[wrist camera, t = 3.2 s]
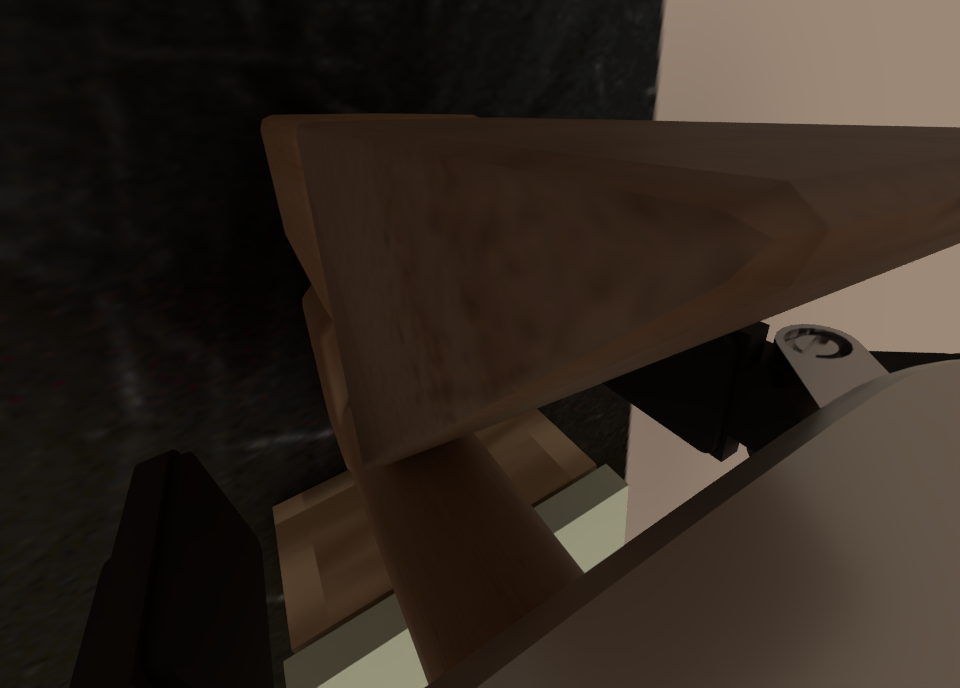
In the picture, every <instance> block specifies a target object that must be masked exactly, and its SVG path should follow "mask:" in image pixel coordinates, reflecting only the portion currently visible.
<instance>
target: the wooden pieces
mask: <svg viewBox="0 0 960 688" xmlns="http://www.w3.org/2000/svg"><path fill="white" fill-rule="evenodd" d="M260 130H261V134H262V139H263V143H264V147H265V151H266V155H267V160H268V164H269V168H270V172H271V176H272V181H273V185H274V189H275V193H276V197H277V202H278V206H279V210H280V214H281V218H282V223H283V227H284V231H285V235H286V237H287V238H288V240H289V242H290V244H291V246H292V248H293V250H294V252H295V253H296V255H297V257H298V259H299V261H300V263H301V265H302V267H303V268H304V270H305V272H306V274H307V276H308V278H309V280H310V282H311V284H312V285H311V286H310V287H309V289H308V290H307V291H306V293H305V294H304V297H303V299H302V306H303V310H304V315H305V319H306V323H307V327H308V331H309V336H310V340H311V344H312V348H313V352H314V357H315V361H316V365H317V369H318V373H319V378H320V382H321V386H322V390H323V394H324V399H325V403H326V407H327V411H328V415H329V419H330V422H331V425H332V427H333V430H334V433H335V436H336V439H337V442H338V444H339V447H340V450H341V453H342V456H343V458H344V461H345V464H346V467H347V468H348V469H349V470H350V471H351V473H352V476H353V479H354V482H355V484H356V487H357V490H358V493H359V495H360V498H361V501H362V504H363V506H364V509H365V512H366V515H367V517H368V520H369V523H370V526H371V528H372V531H373V534H374V537H375V539H376V542H377V545H378V548H379V550H380V553H381V556H382V559H383V561H384V564H385V567H386V570H387V572H388V575H389V578H390V581H391V583H392V586H393V589H394V592H395V594H396V597H397V600H398V603H399V605H400V608H401V611H402V614H403V616H404V619H405V622H406V625H407V627H408V630H409V633H410V636H411V638H412V641H413V644H414V647H415V649H416V652H417V655H418V658H419V660H420V663H421V666H422V669H423V671H424V674H425V677H426V679H427V682H428V685H429V684H430V683H431V682H433V681H434V680H436V679H437V678H438V677H440V676H441V675H443V674H444V673H445V672H447V671H448V670H450V669H451V668H452V667H454V666H455V665H457V664H458V663H459V662H461V661H462V660H464V659H465V658H466V657H468V656H469V655H471V654H472V653H473V652H475V651H476V650H478V649H479V648H480V647H482V646H483V645H485V644H486V643H487V642H489V641H490V640H492V639H493V638H494V637H496V636H497V635H499V634H500V633H501V632H503V631H504V630H506V629H507V628H508V627H510V626H511V625H513V624H514V623H515V622H517V621H518V620H520V619H521V618H522V617H524V616H525V615H527V614H528V613H529V612H531V611H532V610H534V609H535V608H536V607H538V606H539V605H541V604H542V603H543V602H545V601H546V600H548V599H549V598H550V597H552V596H553V595H555V594H556V593H557V592H559V591H560V590H562V589H563V588H564V587H566V586H567V585H569V584H570V583H571V582H573V581H574V580H576V579H577V578H578V577H580V576H581V575H583V574H584V572H583V570H582V569H581V568H580V566H579V565H578V564H577V563H576V561H575V560H574V559H573V558H572V556H571V555H570V554H569V553H568V551H567V550H566V549H565V547H564V546H563V545H562V544H561V542H560V541H559V540H558V539H557V537H556V536H555V535H554V534H553V532H552V531H551V530H550V528H549V527H548V526H547V525H546V523H545V522H544V521H543V520H542V518H541V517H540V516H539V515H538V513H537V512H536V511H535V509H534V508H533V507H532V506H531V504H530V503H529V502H528V501H527V499H526V498H525V497H524V496H523V494H522V493H521V492H520V491H519V489H518V488H517V487H516V485H515V484H514V483H513V482H512V480H511V479H510V478H509V477H508V475H507V474H506V473H505V472H504V470H503V469H502V468H501V466H500V465H499V464H498V463H497V461H496V460H495V459H494V458H493V456H492V455H491V454H490V453H489V451H488V450H487V449H486V447H485V446H484V445H483V444H482V442H481V441H480V440H479V439H478V437H477V436H476V435H475V434H474V432H477V431H479V430H482V429H485V428H487V427H490V426H493V425H495V424H498V423H501V422H503V421H506V420H508V419H511V418H513V417H516V416H519V415H521V414H524V413H526V412H529V411H531V410H534V409H536V408H539V407H542V406H544V405H547V404H549V403H552V402H554V401H557V400H559V399H562V398H565V397H567V396H570V395H572V394H575V393H577V392H580V391H583V390H585V389H588V388H590V387H593V386H595V385H598V384H600V383H603V382H606V381H608V380H611V379H613V378H616V377H618V376H621V375H623V374H626V373H629V372H631V371H634V370H636V369H639V368H641V367H644V366H647V365H649V364H652V363H654V362H657V361H659V360H662V359H664V358H667V357H670V356H672V355H675V354H677V353H680V352H682V351H685V350H687V349H690V348H693V347H695V346H698V345H700V344H703V343H705V342H708V341H710V340H713V339H716V338H718V337H721V336H723V335H726V334H728V333H731V332H734V331H736V330H739V329H741V328H744V327H746V326H749V325H751V324H754V323H757V322H759V321H762V320H764V319H767V318H769V317H772V316H774V315H777V314H780V313H782V312H785V311H787V310H790V309H792V308H795V307H798V306H800V305H803V304H805V303H808V302H810V301H813V300H815V299H818V298H820V297H823V296H826V295H828V294H831V293H833V292H836V291H838V290H841V289H843V288H846V287H849V286H851V285H854V284H856V283H859V282H861V281H864V280H866V279H869V278H872V277H874V276H877V275H879V274H882V273H885V272H887V271H890V270H892V269H895V268H897V267H900V266H902V265H905V264H907V263H910V262H913V261H915V260H918V259H920V258H923V257H926V256H928V255H931V254H933V253H936V252H938V251H941V250H943V249H946V248H949V247H951V246H954V245H956V244H959V243H960V128H956V127H953V128H952V127H911V126H864V125H819V124H775V123H774V124H773V123H729V122H728V123H727V122H685V121H683V122H682V121H680V122H679V121H640V120H595V119H550V118H504V117H492V118H479V117H477V116H475V115H459V114H387V113H362V114H295V115H270V116H268V117H266V118H264V119H262V123H261V129H260Z"/></svg>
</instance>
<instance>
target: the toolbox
mask: <svg viewBox="0 0 960 688" xmlns="http://www.w3.org/2000/svg"><path fill="white" fill-rule="evenodd" d="M474 434H475V435H476V436H477V437H478V439H479V440H480V441H481V442H482V444H483V445H484V446H485V447H486V449H487V450H488V451H489V453H490V454H491V455H492V456H493V458H494V459H495V460H496V461H497V463H498V464H499V465H500V466H501V468H502V469H503V470H504V472H505V473H506V474H507V475H508V477H509V478H510V479H511V480H512V482H513V483H514V484H515V485H516V487H517V488H518V489H519V491H520V492H521V493H522V494H523V496H524V497H525V498H526V499H527V501H528V502H529V503H530V504H531V506H532V507H533V508H535V507H536V506H538V505H540V504H541V503H543V502H544V501H546V500H548V499H549V498H551V497H553V496H554V495H556V494H557V493H559V492H561V491H562V490H564V489H566V488H567V487H569V486H571V485H572V484H574V483H575V482H577V481H579V480H580V479H582V478H584V477H585V476H587V475H588V474H590V473H592V472H593V471H595V470H596V468H597V465H596V464H595V463H594V462H593V461H592V460H591V459H590V458H589V457H588V456H587V455H586V454H585V453H584V452H582V451H581V450H580V449H579V448H578V447H577V446H576V445H575V444H574V443H573V442H572V441H571V440H570V439H569V438H568V437H566V436H565V435H564V434H563V433H562V432H561V431H560V430H559V429H558V428H557V427H556V426H555V425H554V424H553V423H552V422H550V421H549V420H548V419H547V418H546V417H545V416H544V415H543V414H542V413H541V412H540V411H539V410H538V409H537V408H536V409H534V410H531V411H529V412H526V413H524V414H521V415H519V416H516V417H513V418H511V419H508V420H506V421H503V422H501V423H498V424H495V425H493V426H490V427H487V428H485V429H482V430H479V431H477V432H474ZM273 515H274V522H275V530H276V537H277V544H278V552H279V559H280V567H281V574H282V582H283V589H284V597H285V604H286V612H287V619H288V627H289V634H290V642H291V649H292V651H293V652H294V653H295V654H296V653H298V652H300V651H301V650H303V649H305V648H306V647H308V646H310V645H311V644H313V643H314V642H316V641H318V640H319V639H321V638H323V637H324V636H326V635H327V634H329V633H331V632H332V631H334V630H336V629H337V628H339V627H341V626H342V625H344V624H345V623H347V622H349V621H350V620H352V619H354V618H355V617H357V616H358V615H360V614H362V613H363V612H365V611H367V610H368V609H370V608H372V607H373V606H375V605H376V604H378V603H380V602H381V601H383V600H385V599H386V598H388V597H389V596H391V595H393V594H394V593H395V592H394V589H393V586H392V583H391V581H390V578H389V575H388V572H387V570H386V567H385V564H384V561H383V559H382V556H381V553H380V550H379V548H378V545H377V542H376V539H375V537H374V534H373V531H372V528H371V526H370V523H369V520H368V517H367V515H366V512H365V509H364V506H363V504H362V501H361V498H360V495H359V493H358V490H357V487H356V484H355V482H354V479H353V476H352V473H351V471H350V470H347V471H345V472H343V473H341V474H339V475H337V476H335V477H333V478H331V479H329V480H327V481H325V482H322V483H320V484H318V485H316V486H314V487H312V488H310V489H308V490H306V491H304V492H302V493H300V494H298V495H296V496H294V497H292V498H290V499H288V500H286V501H284V502H282V503H280V504H278V505H275V506H273Z"/></svg>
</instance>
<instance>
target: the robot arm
mask: <svg viewBox="0 0 960 688" xmlns="http://www.w3.org/2000/svg"><path fill="white" fill-rule="evenodd" d="M769 326H770V325H768V324H766V323H763V322H760V321H759V322H757V323H754V324H751V325H749V326H746V327H744V328H741V329H739V330H736V331H734V332H731V333H728V334H726V335H723V336H721V337H718V338H716V339H713V340H710V341H708V342H705V343H703V344H700V345H698V346H695V347H693V348H690V349H687V350H685V351H682V352H680V353H677V354H675V355H672V356H670V357H667V358H664V359H662V360H659V361H657V362H654V363H652V364H649V365H647V366H644V367H641V368H639V369H636V370H634V371H631V372H629V373H626V374H623V375H621V376H618V377H616V378H613V379H611V380H608V381H606V382H603V384H604V385H606V386H607V387H608V388H610V389H611V390H613V391H614V392H616V393H617V394H619V395H620V396H621V397H623V398H624V399H626V400H627V401H629V402H630V403H631V404H633V405H634V406H636V407H637V408H639V409H640V410H641V411H643V412H644V413H646V414H647V415H649V416H650V417H651V418H653V419H654V420H656V421H657V422H659V423H660V424H662V425H663V426H664V427H666V428H667V429H669V430H670V431H672V432H673V433H674V434H676V435H677V436H679V437H680V438H682V439H683V440H684V441H686V442H687V443H689V444H690V445H692V446H693V447H694V448H696V449H697V450H699V451H701V452H703V453H709V454H710V455H712V456H713V457H715V458H716V459H718V460H719V461H721V462H722V461H724V460H725V459H727V458H728V457H729V456H731V455H732V454H734V453H735V452H737V449H738V446H739V443H741V444H742V445H744V446H746V447H747V451H748V454H749V456H750V457H749V458H747V459H746V460H745V461H743V462H742V463H740V464H739V465H737V466H736V467H735V468H734V469H732V470H730V471H729V472H728V473H726V474H725V475H723V476H722V477H720V478H719V479H717V480H716V481H715V482H713V483H712V484H710V485H709V486H707V487H706V488H704V489H703V490H702V491H700V492H699V493H698V494H696V495H695V496H693V497H692V498H690V499H689V500H688V501H686V502H685V503H683V504H682V505H680V506H679V507H678V508H676V509H675V510H673V511H672V512H670V513H669V514H668V515H666V516H665V517H663V518H662V519H660V520H659V521H658V522H657V523H655V524H654V525H652V526H651V527H649V528H648V529H646V530H645V531H643V532H642V533H641V534H639V535H638V536H637V537H635V538H634V539H632V540H631V541H629V542H628V543H627V544H625V545H624V546H622V547H621V548H619V549H618V550H617V551H615V552H614V553H612V554H611V555H610V556H608V557H607V558H605V559H604V560H603V561H601V562H600V563H598V564H597V565H595V566H594V567H593V568H591V569H590V570H588V571H587V572H586V573H584V574H583V575H581V576H580V577H578V578H577V579H576V580H574V581H573V582H571V583H570V584H569V585H567V586H566V587H564V588H563V589H562V590H560V591H559V592H557V593H556V594H555V595H553V596H552V597H550V598H549V599H548V600H546V601H545V602H543V603H542V604H541V605H539V606H538V607H536V608H535V609H534V610H532V611H531V612H529V613H528V614H527V615H525V616H524V617H522V618H521V619H520V620H518V621H517V622H515V623H514V624H513V625H511V626H510V627H508V628H507V629H506V630H504V631H503V632H501V633H500V634H499V635H497V636H496V637H494V638H493V639H492V640H490V641H489V642H487V643H486V644H485V645H483V646H482V647H480V648H479V649H478V650H476V651H475V652H473V653H472V654H471V655H469V656H468V657H466V658H465V659H464V660H462V661H461V662H459V663H458V664H457V665H455V666H454V667H452V668H451V669H450V670H448V671H447V672H445V673H444V674H443V675H441V676H440V677H438V678H437V679H436V680H434V681H433V682H431V683H430V684H429V685H427V686H426V687H424V688H960V353H958V354H957V353H955V354H946V353H917V352H914V353H913V352H882V351H880V352H879V351H868V350H867V349H866V348H864V346H863V345H862V344H861V343H860V342H859V341H857V340H856V339H855V338H853V337H852V336H851V335H848V334H846V333H844V332H842V331H840V330H836V329H833V328H830V327H825V326H819V325H810V324H799V325H790V326H788V327H784V328H782V329H781V330H779V331H778V332H777V333H776V335H775V338H774V342H773V343H771V342H769V341H766V337H767V334H768V329H769ZM69 688H274V684H273V673H272V662H271V650H270V639H269V627H268V616H267V604H266V593H265V581H264V570H263V558H262V550H261V546H260V543H259V541H258V539H257V537H256V535H255V534H254V532H253V531H252V530H251V529H250V527H249V526H248V525H247V523H246V522H245V521H244V519H243V518H242V517H241V515H240V514H239V513H238V511H237V510H236V509H235V507H234V506H233V505H232V504H231V502H230V501H229V500H228V498H227V497H226V496H225V494H224V493H223V492H222V490H221V489H220V488H219V486H218V485H217V484H216V482H215V481H214V480H213V479H212V477H211V476H210V475H209V473H208V472H207V471H206V469H205V468H204V467H203V465H202V464H201V463H200V461H199V460H198V459H197V457H196V456H195V455H194V454H193V453H191V452H186V453H184V454H180V453H179V452H178V451H176V450H170V451H168V452H165V453H163V454H161V455H158V456H156V457H153V458H151V459H148V460H146V461H144V462H141V463H139V464H137V465H136V466H135V468H134V471H133V474H132V478H131V482H130V486H129V490H128V494H127V498H126V502H125V505H124V509H123V513H122V517H121V521H120V525H119V529H118V533H117V536H116V540H115V544H114V548H113V552H112V556H111V558H110V559H109V560H108V561H107V562H106V563H105V564H104V566H103V568H102V571H101V573H100V577H99V581H98V584H97V588H96V592H95V595H94V599H93V603H92V606H91V610H90V614H89V617H88V621H87V625H86V628H85V632H84V636H83V639H82V643H81V647H80V650H79V654H78V658H77V661H76V665H75V669H74V672H73V676H72V680H71V683H70V687H69Z"/></svg>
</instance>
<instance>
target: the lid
mask: <svg viewBox="0 0 960 688" xmlns="http://www.w3.org/2000/svg"><path fill="white" fill-rule="evenodd" d="M628 486H629V485H628V484H627V483H626V482H625V481H624V480H623V479H622V478H621V477H620V476H619V475H617V474H616V473H615V472H614V471H613V470H612V469H611V468H610V467H609V466H608V465H606V464H605V465H603V466H602V467H600V468H598V469H597V470H595V471H593V472H592V473H590V474H588V475H587V476H585V477H584V478H582V479H580V480H579V481H577V482H575V483H574V484H572V485H571V486H569V487H567V488H566V489H564V490H562V491H561V492H559V493H557V494H556V495H554V496H553V497H551V498H549V499H548V500H546V501H544V502H543V503H541V504H540V505H538V506H536V507H535V508H534V509H535V511H536V512H537V513H538V515H539V516H540V517H541V518H542V520H543V521H544V522H545V523H546V525H547V526H548V527H549V528H550V530H551V531H552V532H553V534H554V535H555V536H556V537H557V539H558V540H559V541H560V542H561V544H562V545H563V546H564V547H565V549H566V550H567V551H568V553H569V554H570V555H571V556H572V558H573V559H574V560H575V561H576V563H577V564H578V565H579V566H580V568H581V569H582V570H583V572H584V573H586V572H587V571H588V570H590V569H591V568H593V567H594V566H595V565H597V564H598V563H600V562H601V561H603V560H604V559H605V558H607V557H608V556H610V555H611V554H612V553H614V552H615V551H617V550H618V549H619V548H621V547H622V546H624V539H625V527H626V513H627V501H628ZM283 662H284V671H285V679H286V688H424V687H426V686H427V685H428V682H427V679H426V677H425V674H424V671H423V669H422V666H421V663H420V660H419V658H418V655H417V652H416V649H415V647H414V644H413V641H412V638H411V636H410V633H409V630H408V627H407V625H406V622H405V619H404V616H403V614H402V611H401V608H400V605H399V603H398V600H397V597H396V594H395V593H394V594H393V595H391V596H389V597H388V598H386V599H385V600H383V601H381V602H380V603H378V604H376V605H375V606H373V607H372V608H370V609H368V610H367V611H365V612H363V613H362V614H360V615H358V616H357V617H355V618H354V619H352V620H350V621H349V622H347V623H345V624H344V625H342V626H341V627H339V628H337V629H336V630H334V631H332V632H331V633H329V634H327V635H326V636H324V637H323V638H321V639H319V640H318V641H316V642H314V643H313V644H311V645H310V646H308V647H306V648H305V649H303V650H301V651H300V652H298V653H296V654H295V655H293V656H292V657H290V658H288V659H287V660H285V661H283Z"/></svg>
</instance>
